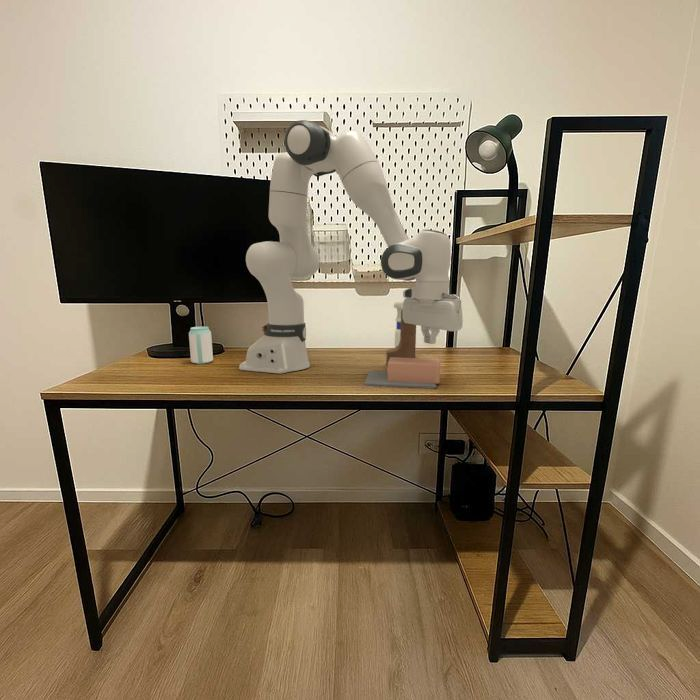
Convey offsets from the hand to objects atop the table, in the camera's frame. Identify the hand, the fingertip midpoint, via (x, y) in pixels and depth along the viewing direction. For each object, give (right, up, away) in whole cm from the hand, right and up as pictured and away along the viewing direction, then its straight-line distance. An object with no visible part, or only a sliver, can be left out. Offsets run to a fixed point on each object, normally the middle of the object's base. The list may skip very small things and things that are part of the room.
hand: (429, 343), depth 108 cm
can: (-72, -6, +26) cm, 77 cm away
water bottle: (-2, -4, +35) cm, 35 cm away
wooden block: (-5, -7, +23) cm, 24 cm away
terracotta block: (+3, -8, +1) cm, 8 cm away
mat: (-8, -10, +3) cm, 13 cm away
